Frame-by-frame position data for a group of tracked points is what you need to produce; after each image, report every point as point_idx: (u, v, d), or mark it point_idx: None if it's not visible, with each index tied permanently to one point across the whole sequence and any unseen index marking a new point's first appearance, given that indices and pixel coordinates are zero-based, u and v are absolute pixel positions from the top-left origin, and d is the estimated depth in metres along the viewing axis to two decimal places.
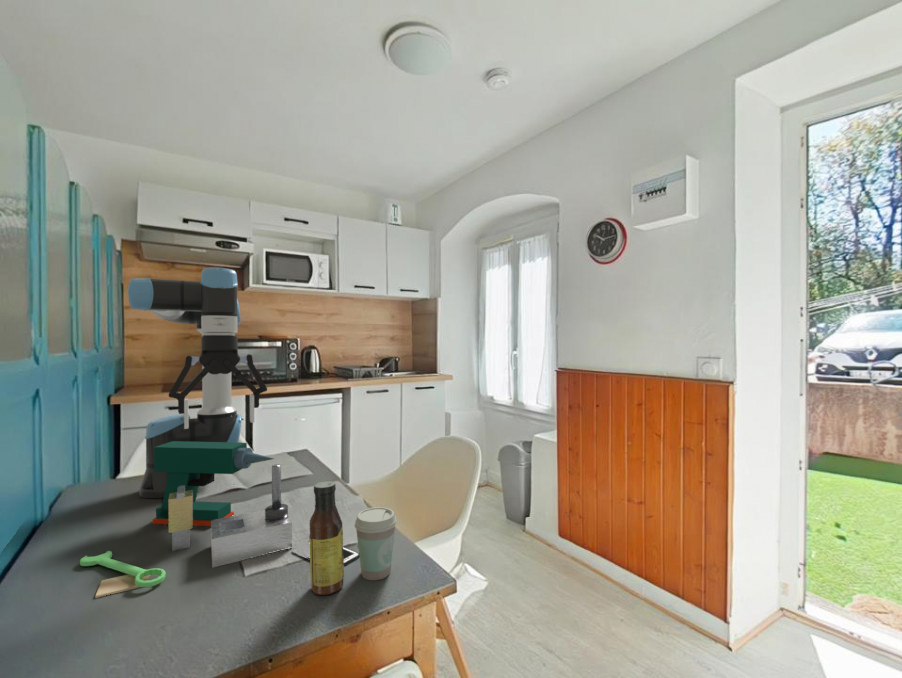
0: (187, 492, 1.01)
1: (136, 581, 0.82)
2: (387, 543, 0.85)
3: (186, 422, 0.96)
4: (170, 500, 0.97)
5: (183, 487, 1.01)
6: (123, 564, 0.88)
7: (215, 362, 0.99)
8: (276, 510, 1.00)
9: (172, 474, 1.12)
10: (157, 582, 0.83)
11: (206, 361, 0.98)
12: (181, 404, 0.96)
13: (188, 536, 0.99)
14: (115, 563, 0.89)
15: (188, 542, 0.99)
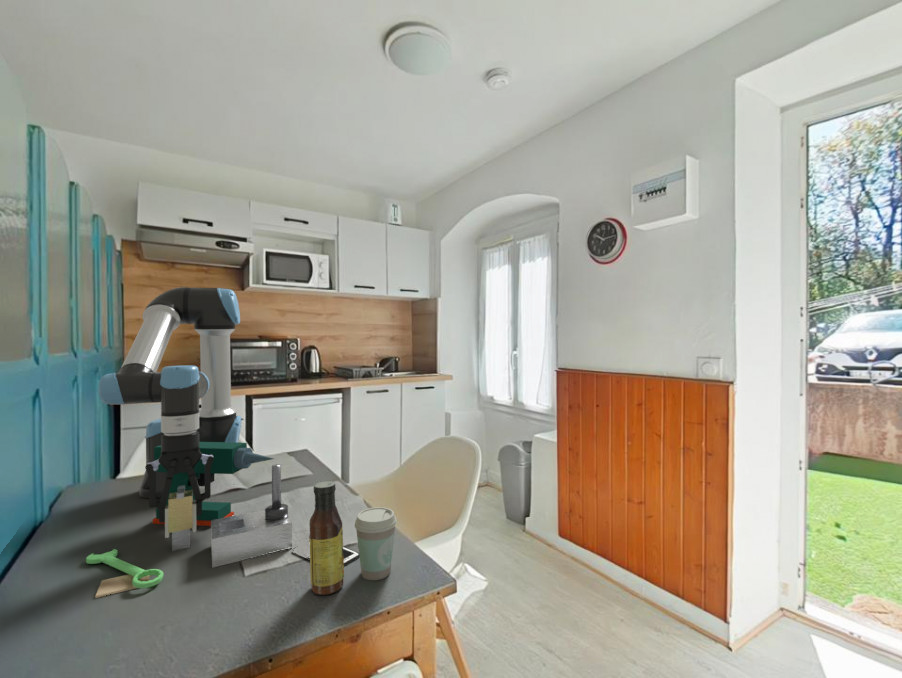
0: (187, 492, 1.01)
1: (133, 582, 0.82)
2: (387, 543, 0.85)
3: (167, 531, 0.97)
4: (170, 500, 0.97)
5: (183, 487, 1.01)
6: (125, 563, 0.88)
7: (175, 462, 0.97)
8: (276, 510, 1.00)
9: None
10: (154, 583, 0.82)
11: (166, 461, 0.97)
12: (162, 512, 0.97)
13: (188, 536, 0.99)
14: (117, 562, 0.89)
15: (188, 542, 0.99)
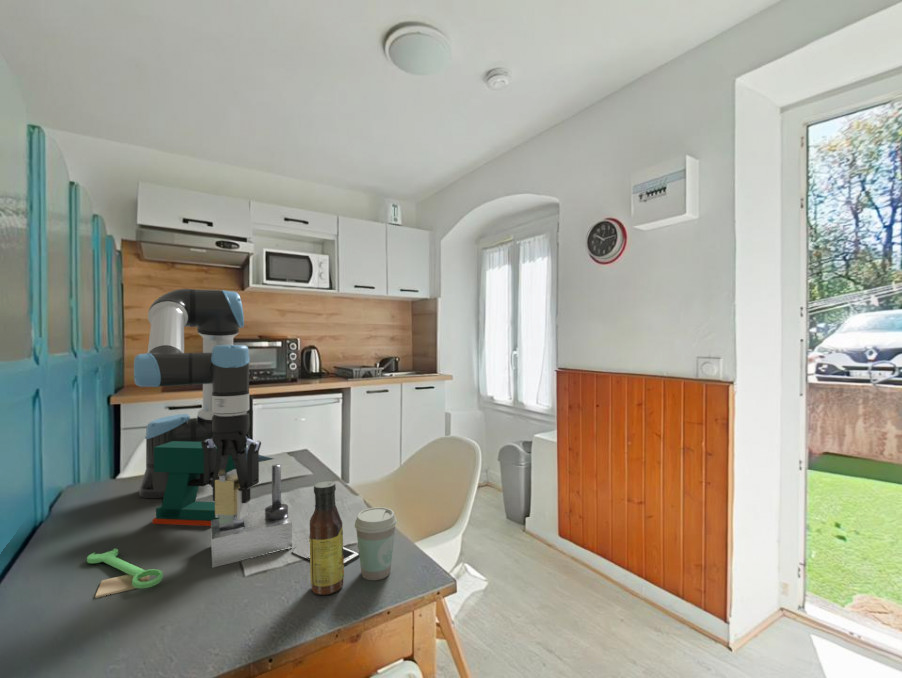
0: None
1: (133, 582, 0.82)
2: (387, 543, 0.85)
3: None
4: (216, 481, 0.95)
5: None
6: (125, 563, 0.88)
7: (221, 443, 0.95)
8: (276, 510, 1.00)
9: (172, 474, 1.12)
10: (153, 584, 0.82)
11: (217, 440, 0.96)
12: None
13: (232, 522, 0.95)
14: (118, 562, 0.89)
15: (232, 528, 0.95)
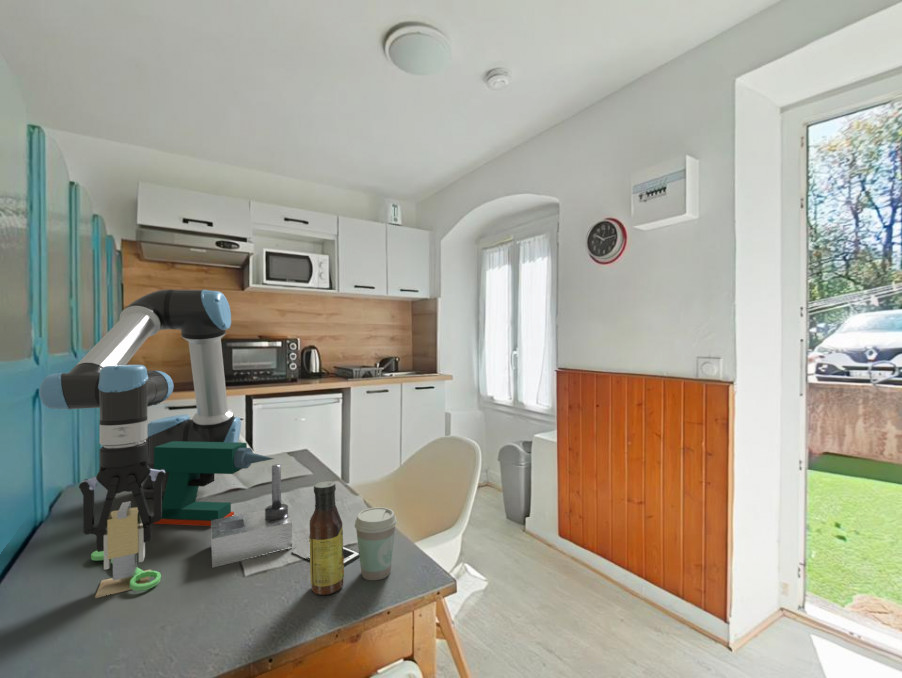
0: (133, 510, 0.85)
1: (130, 584, 0.81)
2: (387, 543, 0.85)
3: (106, 561, 0.82)
4: (109, 520, 0.81)
5: (128, 504, 0.85)
6: None
7: (116, 479, 0.82)
8: (276, 510, 1.00)
9: (172, 474, 1.12)
10: (150, 586, 0.82)
11: (106, 478, 0.82)
12: (101, 539, 0.82)
13: (133, 562, 0.83)
14: None
15: (133, 569, 0.83)
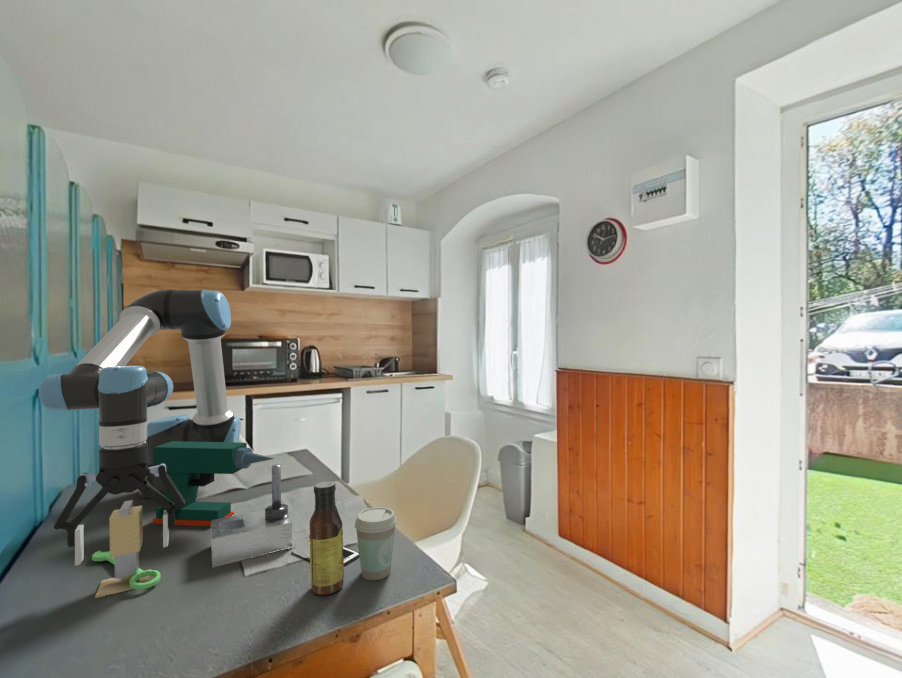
0: (134, 508, 0.86)
1: (130, 583, 0.81)
2: (387, 543, 0.85)
3: (77, 557, 0.80)
4: (111, 518, 0.82)
5: (130, 502, 0.86)
6: None
7: (115, 481, 0.82)
8: (276, 510, 1.00)
9: (172, 474, 1.12)
10: (150, 585, 0.82)
11: (104, 480, 0.82)
12: (72, 534, 0.80)
13: (135, 561, 0.84)
14: None
15: (135, 568, 0.84)
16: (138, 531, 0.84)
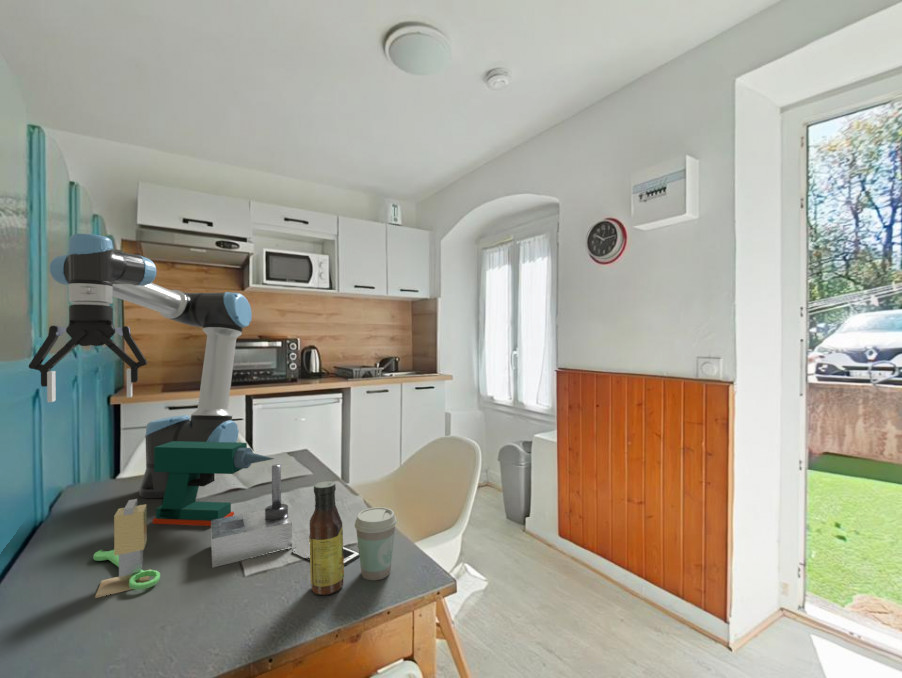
0: (139, 507, 0.87)
1: (129, 583, 0.81)
2: (387, 543, 0.85)
3: (49, 395, 0.92)
4: (116, 517, 0.82)
5: (134, 501, 0.87)
6: None
7: (83, 333, 0.94)
8: (276, 510, 1.00)
9: (172, 474, 1.12)
10: (149, 585, 0.82)
11: (74, 332, 0.94)
12: (45, 376, 0.92)
13: (139, 559, 0.84)
14: None
15: (139, 566, 0.84)
16: (142, 529, 0.84)
